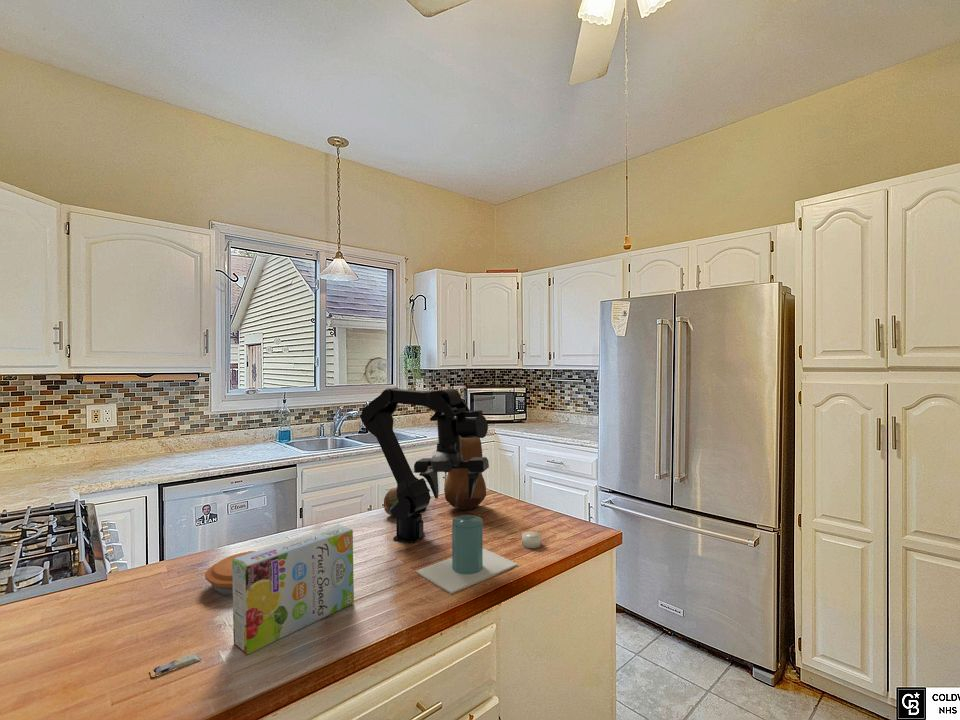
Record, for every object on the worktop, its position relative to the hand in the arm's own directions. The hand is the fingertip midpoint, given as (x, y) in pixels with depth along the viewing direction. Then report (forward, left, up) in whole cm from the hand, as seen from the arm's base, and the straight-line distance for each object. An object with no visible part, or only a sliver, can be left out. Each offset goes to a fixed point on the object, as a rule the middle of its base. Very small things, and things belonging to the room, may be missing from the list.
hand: (453, 498), depth 120 cm
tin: (-26, +21, -13) cm, 36 cm away
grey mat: (+8, -9, -13) cm, 18 cm away
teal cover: (+8, -9, -13) cm, 17 cm away
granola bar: (-23, -57, -14) cm, 63 cm away
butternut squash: (-9, +31, -13) cm, 35 cm away
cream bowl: (+18, +10, -13) cm, 24 cm away
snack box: (-14, -41, -13) cm, 45 cm away
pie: (-35, -32, -13) cm, 50 cm away
